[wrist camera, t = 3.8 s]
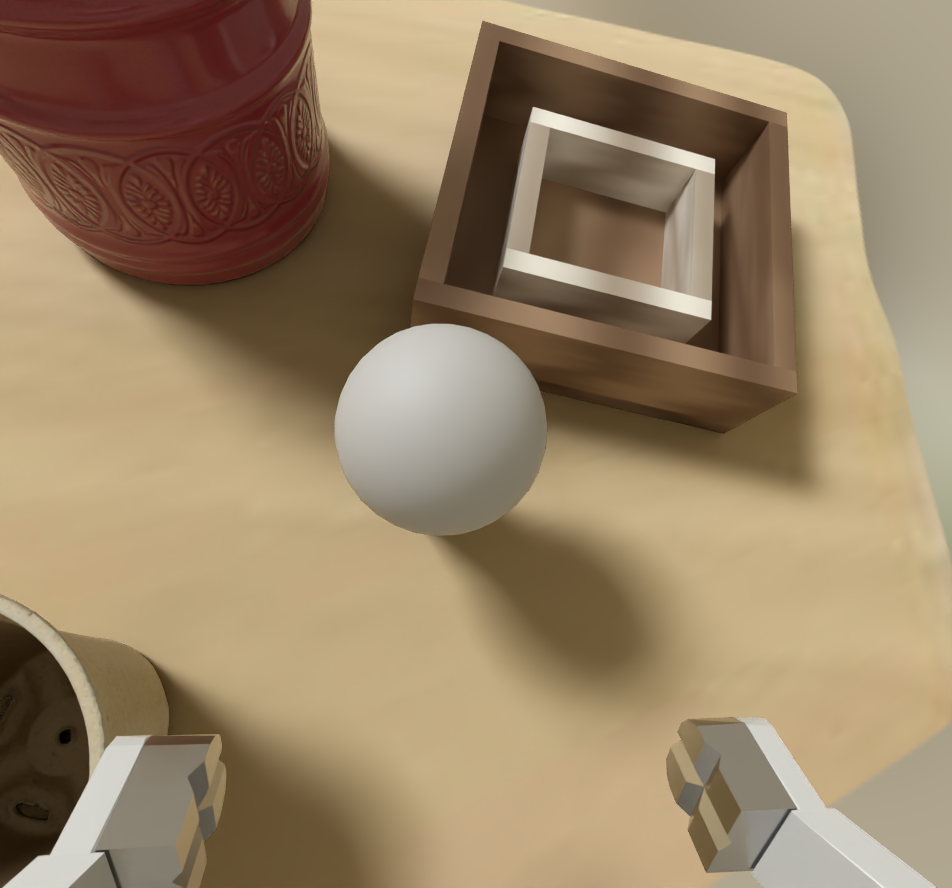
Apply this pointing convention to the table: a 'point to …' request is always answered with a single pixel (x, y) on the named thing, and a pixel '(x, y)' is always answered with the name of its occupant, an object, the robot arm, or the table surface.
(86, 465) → the table surface
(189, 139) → the canister
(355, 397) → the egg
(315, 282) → the table surface
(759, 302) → the socket box
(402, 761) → the table surface
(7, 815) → the flower pot
